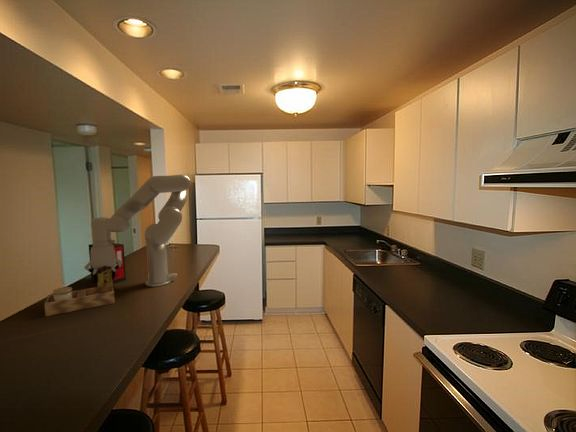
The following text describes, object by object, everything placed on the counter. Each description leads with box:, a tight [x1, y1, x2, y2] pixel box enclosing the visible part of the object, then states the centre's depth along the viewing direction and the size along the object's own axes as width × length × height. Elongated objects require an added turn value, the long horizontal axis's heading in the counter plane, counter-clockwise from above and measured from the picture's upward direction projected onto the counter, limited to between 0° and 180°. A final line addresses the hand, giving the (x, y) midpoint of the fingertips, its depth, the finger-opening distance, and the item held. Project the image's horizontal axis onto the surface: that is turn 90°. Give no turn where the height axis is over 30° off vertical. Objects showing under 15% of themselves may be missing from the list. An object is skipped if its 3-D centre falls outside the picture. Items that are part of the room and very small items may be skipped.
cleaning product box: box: [88, 242, 127, 285], centre depth 161 cm, size 16×9×20 cm, turn 63°
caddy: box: [44, 284, 116, 317], centre depth 127 cm, size 24×11×6 cm, turn 123°
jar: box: [52, 286, 73, 302], centre depth 124 cm, size 6×6×8 cm
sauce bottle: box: [96, 266, 114, 287], centre depth 142 cm, size 6×6×20 cm
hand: (105, 280), depth 142 cm, fingers closed on sauce bottle, 6 cm apart
